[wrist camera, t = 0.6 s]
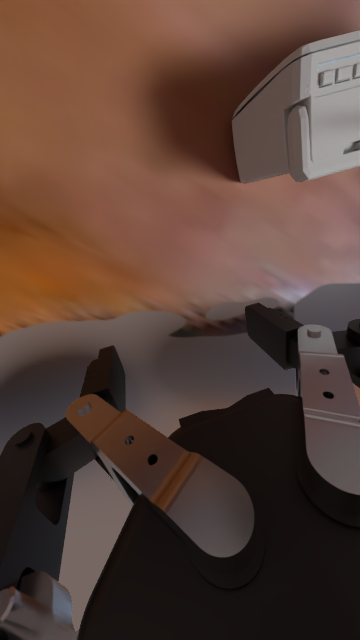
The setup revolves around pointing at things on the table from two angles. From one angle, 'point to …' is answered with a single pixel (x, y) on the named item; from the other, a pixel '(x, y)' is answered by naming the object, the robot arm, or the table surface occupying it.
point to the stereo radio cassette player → (303, 114)
